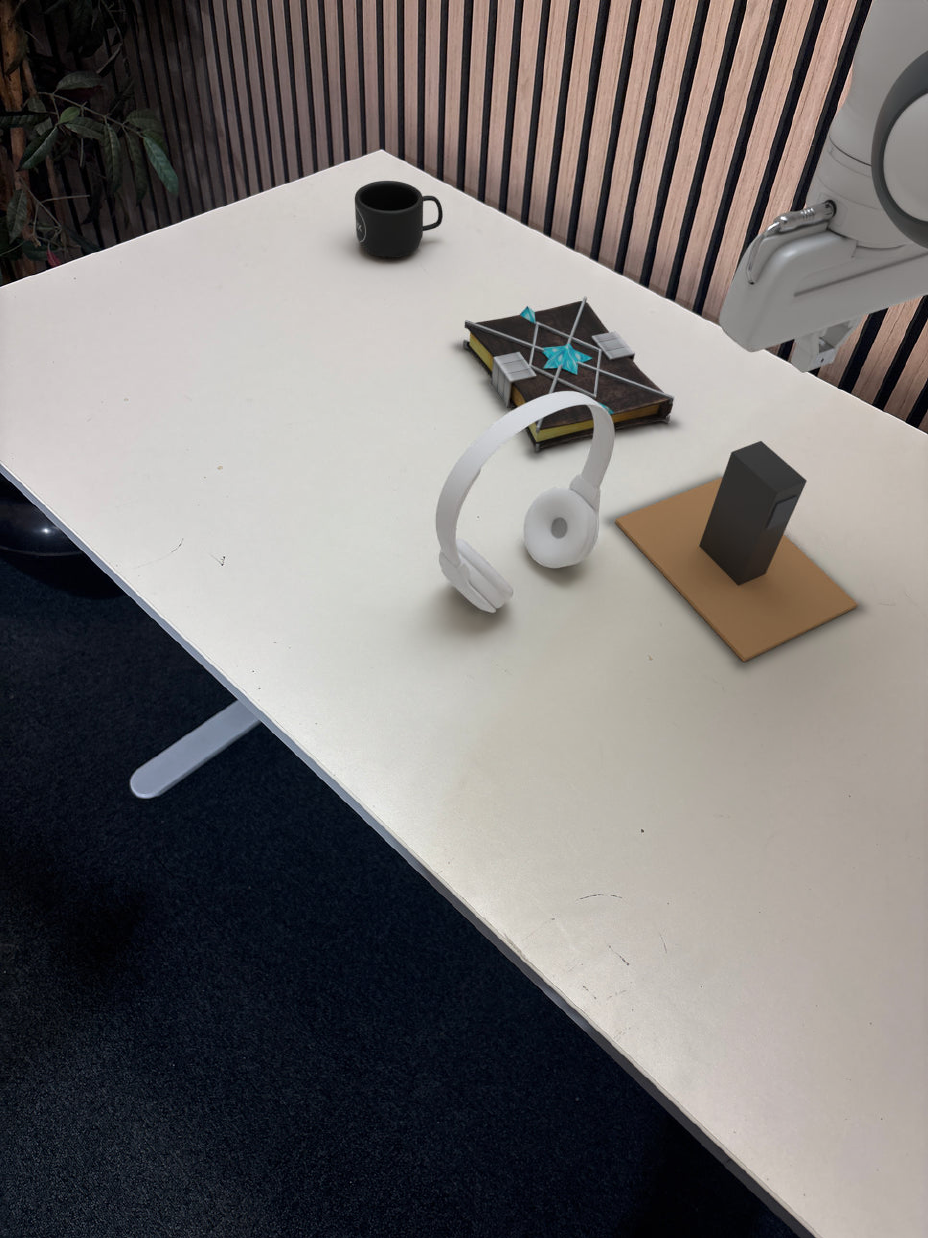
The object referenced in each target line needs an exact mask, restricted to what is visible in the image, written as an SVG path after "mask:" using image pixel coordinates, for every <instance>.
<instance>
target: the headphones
mask: <svg viewBox="0 0 928 1238" xmlns="http://www.w3.org/2000/svg"><path fill="white" fill-rule="evenodd" d="M575 405H587V406H588V407H589V408H590V410H591V412H592V415H593V420H594V433H593V435H592V440H591V445H590V448H589V452H588V455H587V458H586V461H585V463H584V466H583V469H582V471H581V473H580V474H579V473H577V474H576V475H575V476H574V477H573V478H572V480H571V481H570V483H569V487H568V488H567V487H562V486H554V487H552V488H549V489H548V490H546V491H544V492H542V493H540V495H538V496H537V497H536V498H535V499H534V500H533V501H532V503H531V504H530V506H529V507H528V510H527V512H526V514H525V517H524V521H523V529H522V530H523V532H522V533H523V540H524V545H525V547H526V549H527V552H528V553H529V555H530V556H531V558H532V559H533V560H534V561H536V563H538V564H539V565H541V566H542V567H546V568H549V569H560V568H564V567H565V568H566V567H570V566H575V565H577V564H579V563H582V561H584V560H585V559H586V558H587V557H588V556H589V555H590V554H591V553H592V551H593V550H594V548H595V546H596V543H597V542H598V541H597V540H598V536H599V530H600V517H599V513H600V505H601V504H600V503H601V492H602V491H601V489H600V487H601V485H602V484H603V483H602V482H603V480H604V478H605V475H606V473H607V470H608V467H609V465H610V462H611V458H612V456H613V455H612V454H613V451H614V446H615V436H616V435H615V434H616V432H615V430H614V425H613V421H612V418H611V416H610V415H609V413H608V412H607V411H606V410H605V409H604V408H603V407H602V406H601V405H600V404H599V403H597V402H596V401H595V400H593V399H592V398H590V397H588V396H587V395H585V394H582V393H579V392H574V391H562V392H555V393H551V394H547V395H544V396H541V397H539V398H536V399H534V400H532V401H530V402H528V403H525V404H524V405H522V406H520V407H518V408H516V409H515V408H514V409H512V410H510V411H509V412H508V413H506V414H505V415H503V416H502V417H500V418H499V419H498V420H496V421H495V422H494V423H492V424H491V425H490V426H488V427H487V429H485V430H483V432H482V433H481V434H480V435H479V436H478V437H477V438H476V439H475V440H474V441H473V442H472V443H471V444H470V445H469V446H468V447H467V448H466V450H464V452H463V453H462V454H461V456H460V457H459V458H458V460H457V461H456V462H455V464H454V465H453V467H452V469H451V470H450V472H449V474H448V476H447V477H446V480H445V482H444V484H443V486H442V488H441V491H440V494H439V497H438V500H437V506H436V509H435V531H436V538H437V540H438V543H439V547H440V549H439V553H438V564H439V566H440V569H441V570H440V571H441V573H442V574H443V576H444V577H445V578H446V579H447V581H448V582H449V583H450V584H451V585H452V586H453V587H454V588H455V589H456V590H457V591H458V592H459V593H460V594H461V595H463V596H464V597H465V598H466V599H467V600H468V601H469V602H470V603H471V604H472V605H474V606H475V607H476V608H477V609H480V610H481V611H484V612H488V613H492V614H494V613H496V611H497V610H496V609H500V608H502V607H503V605H505V603H506V602H507V601H508V600H511V599H512V597H513V596H514V589H513V587H512V586H511V585H510V583H509V582H508V581H507V580H506V579H505V578H504V577H503V576H502V575H501V573H499V571H497V569H495V567H494V566H493V565H492V564H491V563H490V562H488V561H487V560H486V558H484V556H482V555H481V554H480V553H479V551H477V550H476V549H475V548H474V547H473V546H472V545H471V544H470V543H468V542H467V541H465V540H464V539H463V538H457V527H458V526H457V525H458V520H459V517H460V513H461V510H462V507H463V505H464V502H465V501H466V498H467V496H468V494H469V493H470V490H471V488H472V487H473V486H474V484H475V481H477V479H478V477H479V476H480V474H481V471H482V468H483V466H484V465H485V464H486V463H487V462H488V461H489V460H490V458H491V457H492V456H493V455H494V454H495V453H496V452H497V451H498V450H499V449H500V448H502V447H503V445H504V444H506V443H507V442H508V441H510V440H511V439H512V438H513V437H514V436H516V435H517V434H519V433H520V432H521V431H523V430H524V429H526V427H527V426H529V425H530V424H532V423H534V422H535V421H537V420H539V419H541V418H543V417H545V416H547V415H549V414H551V413H554V412H556V411H558V410H561V409H564V408H567V407H571V406H575Z"/></svg>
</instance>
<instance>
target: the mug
mask: <svg viewBox="0 0 928 1238" xmlns="http://www.w3.org/2000/svg"><path fill="white" fill-rule="evenodd" d="M424 202H434V203H435V206H436V208H437V214H438V215H437V219H436V221H435V222H433V223H429V224H426V225H424ZM354 214H355V216H354V217H355V234H356V238H357V240H358V242H359V244H360V246H361V248H363V249H364V251H366V252H368V253H369V254H371V255H374V256H378V257H383V258H398V257H403V256H407V255H410V254H411V253H413V252H415V251H416V250H417V249H418V247H419V246H420V244H421V242H422V240H423V235H424V232H426V231H431V230H434V229H437V228H439V227H440V226H441V224H442V222H443V218H444V216H443V215H444V211H443V207H442V203H441V201H440V200H439V199H438V198H437V197H436V196H434V195H423V193H422V192H421V191H420V190H419V189H418V188H417V187H415V186H413V185H411V184H409V183H406V182H402V181H398V180H379V181H374V182H370V183H367V184H364V185H362V186H361V187H360V188H358V189H357V190H356V191H355V194H354Z"/></svg>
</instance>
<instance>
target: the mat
mask: <svg viewBox="0 0 928 1238" xmlns="http://www.w3.org/2000/svg"><path fill="white" fill-rule="evenodd" d="M722 478H723V476H722V477H720V478H717V479H714V480H711V481H709V482H706V483H704V484H701V485H699V486H697V487H694V488H691V489H690V490H689V489H688V490H686V491H684V492H681V493H678V494H676V495H673V496H670V497H668V498H665V499H663V500H661V501H657V502H655V503H653V504H650V505H648V506H645V507H643V508H640V509H637V510H634V511H633V512H630V513H627V514H625V515H621V516H620V517H617V518H615V521H614V523H615V524H616V525H617V526H618V527H619V529H620V530H621V531H622V532H623V533H624V534H625V535H626V536H627V537H628V538H629V539H630V540H631V542H632V543H633V544H634V545H635V546H636V547H637V548H638V549H639V550H640V551H641V552H642V553H643V555H644V556H646V558H647V559H648V560H649V561H650V562H651V563H652V564H653V565H654V566H655V568H657V569H658V571H659V572H660V573H661V574H662V575H663V576H664V578H666V580H667V581H668V582H669V583H670V584H671V585H672V586H673V587H674V588H675V589H676V591H678V592H679V594H680V595H681V596H682V597H683V598H684V599H685V600H686V601H687V602H688V603H689V604H690V605H691V606H692V608H693V609H694V610H695V611H696V612H697V613H698V614H699V615H700V617H702V618H703V620H705V622H706V623H707V624H708V625H709V626H710V627H711V628H712V629H713V631H715V632H716V633H717V636H719V637H720V638H721V640H723V641H724V643H725V644H726V645H727V646H728V647H729V648H730V649H731V650H732V651H733V652H734V653H735V654H736V655H737V657H738V658H739V659H740V660H741V661H742V662H746V661H748V660H750V659H753V658H755V657H756V656H758V655H760V654H763V653H765V652H767V651H769V650H771V649H773V648H775V647H777V646H779V645H781V644H783V643H786V642H787V641H790V640H791V639H793V638H796V637H798V636H800V635H803V634H805V633H806V632H808V631H811V630H813V629H814V628H816V627H818V626H821V625H822V624H823V625H824V624H825V623H826V622H829V621H831V620H833V619H835V618H837V617H839V616H841V615H843V614H846V613H847V612H850V611H851V610H854V609H856V608H857V607H858V603H857V601H855V600H854V599H853V598H852V597H851V596H850V595H849V594H848V593H846V591H845V590H844V589H843V588H842V587H841V586H840V585H838V584H837V583H836V582H835V581H834V580H833V579H832V578H831V577H830V576H829V575H827V573H826V572H824V570H822V569H821V568H820V567H819V566H818V565H817V563H815V562H814V561H812V559H811V558H810V557H809V556H807V555H806V554H805V553H804V552H803V551H802V550H801V549H800V548H799V547H798V546H796V545H795V543H794V542H792V541H791V539H789V538H788V537H787V536H786V535H785V533H784V534H783V536H782V538H781V540H780V543H779V545H778V547H777V550H776V552H775V554H774V556H773V559H772V561H771V563H770V565H769V568H768V570H767V572H766V574H764V575H762V576H760V577H757V578H755V579H753V580H751V581H748V582H746V583H744V584H742V585H739V586H738V585H737V584H736V583H735V582H734V581H733V580H732V579H731V578H730V577H729V576H728V575H727V574H726V573H725V572H724V571H723V570H722V569H721V568H720V567H719V566H718V565H717V564H716V563H715V562H714V561H713V560H712V559H711V558H710V557H709V556H708V554H707V553H706V552H705V551H704V550H703V549H702V548H701V547H700V546H699V544H700V542H701V539H702V536H703V533H704V530H705V527H706V524H707V521H708V518H709V516H710V513H711V510H712V507H713V504H714V501H715V498H716V495H717V492H718V490H719V487H720V484H721V481H722Z"/></svg>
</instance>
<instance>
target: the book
mask: <svg viewBox="0 0 928 1238" xmlns="http://www.w3.org/2000/svg"><path fill="white" fill-rule="evenodd" d="M587 299H588V296H586V295H585V296H583V299H582V300H578V301H574V302H571V303H567V304H563V305H559V306H554V307H551V308H547V309H542V310H536V311H534V310H533V309H532V308H531V307H530V306H529V305H527V306H526V307H525V308H524V309H523V310H522V311H521V312H520V313H519V314H517V315H511V316H506V317H502V318H496V319H489V320H484V321H476V322H473V321H471V320H468V319H466V320H464V329H467V330H468V331H469V340H467V339H464V340H463V341H462V348H464V349H466V350H469V351H470V352H471V353H472V355H473V356H474V357H475V358H476V359H477V361H478V362H479V363H480V365H482V367H483V368H484V369H485V370H486V371H487V373H488V374H489V376H490V377H491V382H490V384H491V385H492V386H493V388H494V389H495V391H496V393H497V394H498V395H499V397H500V398H501V400H502V401H503V402H504V404H505V406H506V407H507V408H510V407H513V408H514V409H516V408H518V407H520V406H522V405H524V404H525V403H528V402H530V401H532V400H534V399H536V398H539V397H541V396H544V395H547V394H551V393H555V392H562V391H574V392H579V393H582V394H585V395H587V396H588V397H590V398H592V399H593V400H595V401H596V402H597V403H599V404H600V405H601V406H602V407H603V408H604V409H605V410H606V411H607V412H608V413H609V415H610V416H611V418H612V421H613V425H614V431H615V430H618V429H623V428H628V427H633V426H639V425H643V424H649V423H656V422H660V421H662V422H663V423H667V424H668V423H669V422H670V419H671V415H670V414H671V413H672V410H673V406H674V400H675V396H673V395H670V394H668V393H666V392H664V391H663V390H662V389H661V388H660V387H659V386H658V385H657V384H656V383H654V381H653V380H651V379H650V378H649V377H648V376H647V375H646V374H645V373H644V372H643V371H642V370H641V369H640V368H639V367H638V365H637V364H636V363H635V362H634V360H635V356H636V353H635V352H634V350H633V349H632V348H631V347H630V346H629V345H628V344H627V343H626V341H625V340H624V339H623V338H622V336H620V334H619V333H618V332H617V331H609V330H608V328H607V327H606V326H605V324H604V323H603V322H602V321H601V319H600V317H598V315H597V313H596V312H595V311H594V309H593V308H592V306H591V305H590V304H589V302H588V301H587ZM525 429H526V431H527V434H528V435H529V437H530V439H531V441H532V442H533V444H534V446H535V448H534V451H535V452H539V450H540V449H542V448H546V447H549V446H552V445H556V444H560V443H564V442H568V441H572V440H575V439H579V438H584V437H589V436H593V433H594V420H593V415H592V412H591V410H590V408H589V407H588V406H587V405H575V406H571V407H567V408H564V409H561V410H558V411H556V412H554V413H551V414H549V415H547V416H545V417H543V418H541V419H539V420H537V421H535V422H534V423H532V424H530V425H529V426H527V427H526V428H525Z"/></svg>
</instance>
